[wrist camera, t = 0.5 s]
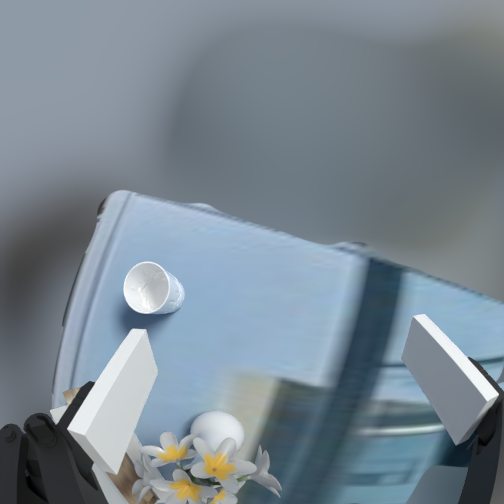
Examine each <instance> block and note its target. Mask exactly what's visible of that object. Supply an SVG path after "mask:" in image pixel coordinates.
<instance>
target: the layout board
mask: <svg viewBox="0 0 504 504" xmlns="http://www.w3.org/2000/svg"><path fill="white" fill-rule="evenodd" d="M67 408H68V405H65V406H62V407H59V408H56V409H52V410H50V412H51V414H52V416H53V418H54V420H55V422H56V424H57V423H58V422H59V420H60V419H61V417H62V415H63V414H64V412H65V411H66V409H67ZM140 447H143V446H142V444H141V443H140V441H139V439H138V438H137V436H136V434H135V433H134V432H133V435H132V437H131V440H130V442H129V445H128V447H127V450H126V452H125V456H126V457H127V459H128V460H129V462H130V463H131V465H132V466H133V468H134V469H135V465H134V463H135V460H138V461H139V462H140V463H141V464H142V461H141V453H140V452H139V451H138V448H140ZM144 455H145V458H146V460H147V463H148V465H149V467H150V469H151V471H152V473H153V474H154V476H155V478H156V479H160V480H165V478H164V477H163V476H162V474H161V473H160V471H159V470H158V469H157V467H152V466H151V465H150V463H151V461H152V460H151V458H150V457H149V455H146V454H144ZM142 465H143V464H142ZM92 470H93V471H94V473H95V475H96V477H97V480H98V482H99V484H100V487H101V489H102V491H103V493H104V495H105V497H106V499H107V501H108V503H109V504H129V503H128V502H127V500H126V499H125V498H124V497H123V495H122V494H121V493H120V491H119V490H118V489H117V487H116V486H115V485H114V483H113V482H112V480H111V479H110V478H109V476H108V475H107V473H106V472H105V471H103V470H100V469H99V468H98V467H97V465H96V464H95V463H94V464H93V466H92ZM140 478H141V477H140ZM141 479H143V478H141ZM150 491H151V492H152V494H153V495H154V496H155V497H156V498H157V501H156V503H163V502H165V501H166V499H167V498H168V497H169V496H170V494H172V493H173V492H174V491H173V492H163V491H160V490H158V489H156V488H154V487H152V488H151V489H150Z"/></svg>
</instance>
